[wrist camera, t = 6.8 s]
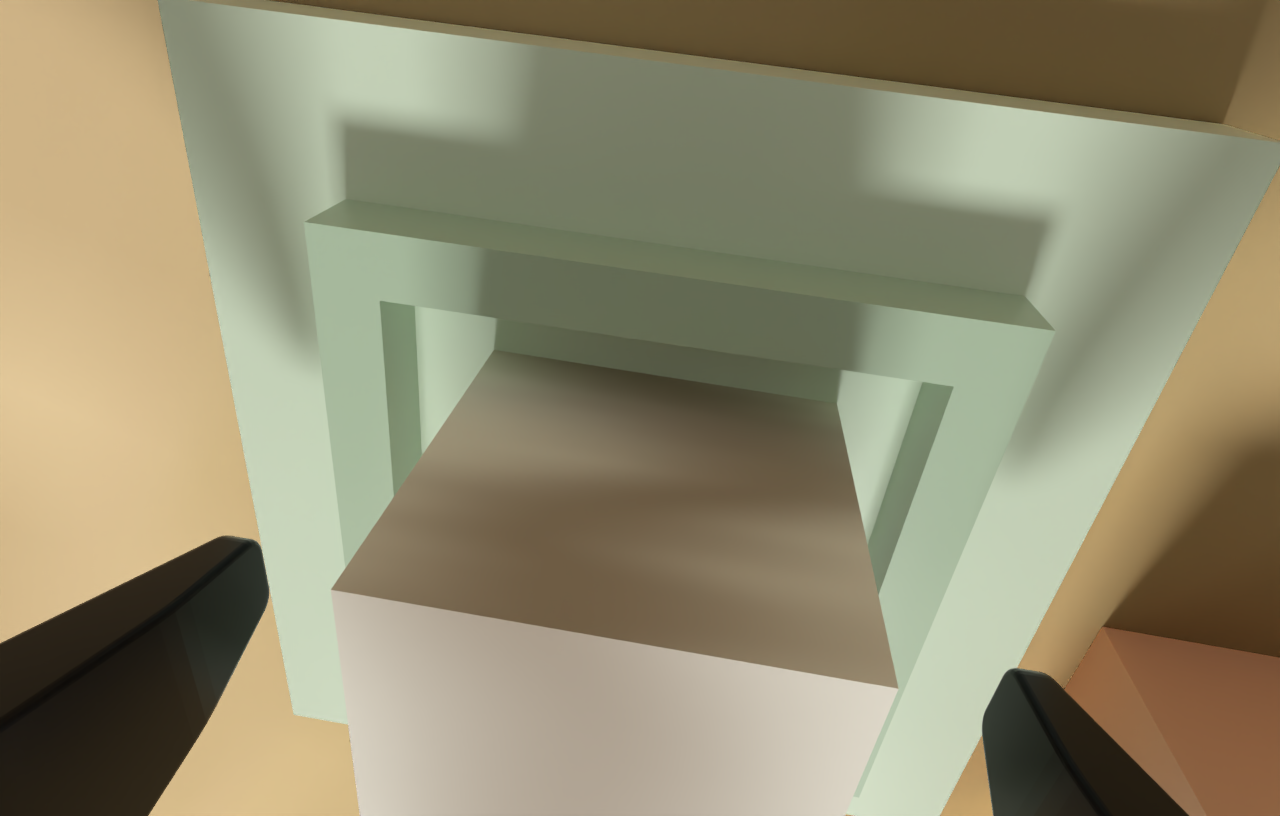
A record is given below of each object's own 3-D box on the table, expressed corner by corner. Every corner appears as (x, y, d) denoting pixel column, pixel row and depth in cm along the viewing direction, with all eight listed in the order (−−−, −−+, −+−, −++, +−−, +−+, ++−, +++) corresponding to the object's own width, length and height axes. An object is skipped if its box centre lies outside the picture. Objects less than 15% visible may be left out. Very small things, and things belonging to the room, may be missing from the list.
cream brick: (836, 404, 10) (898, 688, 6) (768, 648, 12) (778, 972, 8) (494, 349, 10) (330, 590, 6) (490, 599, 12) (369, 891, 8)
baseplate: (1226, 124, 9) (1361, 164, 7) (919, 770, 15) (945, 887, 13) (222, -6, 9) (86, -2, 7) (324, 664, 15) (264, 761, 13)
